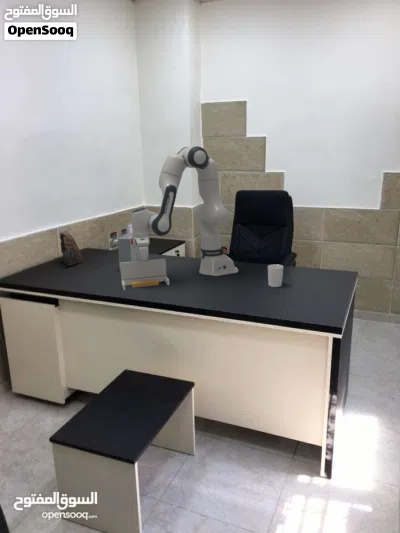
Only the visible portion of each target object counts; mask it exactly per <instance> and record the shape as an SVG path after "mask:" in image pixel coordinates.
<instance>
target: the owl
mask: <svg viewBox="0 0 400 533" xmlns="http://www.w3.org/2000/svg"><path fill="white" fill-rule="evenodd" d="M59 239H60V249H61V251H60V252H61V253H62V258H63V265H65V266H72V265H76V264H81V263H83V262H84V259H83V257H82V256H83V255H82V253H81V251H80V249H79V246H78V244H77V242H76V240H75V239H74V236H72V234H70V232H69V231H68V230H65V231H60V233H59Z"/></svg>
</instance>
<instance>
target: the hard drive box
mask: <svg viewBox="0 0 400 533" xmlns="http://www.w3.org/2000/svg"><path fill="white" fill-rule="evenodd" d="M135 245H136V244H134V243H133V237H132V233H127V234H125V235H123V236H121V237H119V238H117V247H118V250H117V251H118V263H119V272H121V267H120V263H122V262H133V261H141V260H140V257H139V255H138V253H137V247H136V246H135Z"/></svg>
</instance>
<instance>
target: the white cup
mask: <svg viewBox="0 0 400 533" xmlns="http://www.w3.org/2000/svg"><path fill="white" fill-rule="evenodd" d="M283 277H284V265H282V264H275V263H274V264H269V265H267V280H268V286H269V287H272V288H278V287H282V284H283Z"/></svg>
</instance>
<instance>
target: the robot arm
mask: <svg viewBox="0 0 400 533" xmlns="http://www.w3.org/2000/svg"><path fill="white" fill-rule="evenodd" d="M187 168H189V169H195V170H196V173H197V187H198V194H199V197H200V198H201V200H202V203H199V204H196V206H195V207H194V209H193V216H194V219H195V220H196V222H197V225H198V228H199V232H200V233H199V234H200V239H201V240H200V246H201V247H200V267H199V270H198V272H199V274H201V275H205V276H206V275H207V276H213V277H219V276H223V275H224V276H225V275H230V274H237V273H238V272H239V269H238V267H236V266H235V264H234V261H233V259H232V258H231V257H229V256H228V255H227V254H226V253H227V249H226V248H223V247H222V243H221V242H222V241H221V239H222V238H221V237H222V236H221V233H220V231H219V229H218V226H222V225H225V224H226V223H227V222H228V220H229V211H228V210H227V209H226V207H225V205H224V203H223V201H222V198H221V194H220V187H219V186H220V185H219V173H218V166H217V163H216V161H215V159H214V158H210V157H209V155H208V153H207V150H206V149H205V148H203V147H201V146H197V145H196V146H195V145H190V146H184V147H183V148H181V149H180V150H179V151H178V152H177V153H170V154H168V155H167V157H166V159H165V160H164V163H163V165H162V168H161V171H160V174H159V178H158V186H159V189H161V194H162V199H161V204H160V208H159V211H158V213H157V212H153V211H151V210H148V209H147V208H146V207H139V208H136V209H134V210H132V212H131V218H130V219H131V229H132V233H131V234H132V237H133V243H134V244H136V245H135V246H136V247H137V253H138V255H139V257H140V261H144V260H149V246H150V242H151V240H150V232H153V233H154V234H155V235H156V236H160V237H162V236H163V237H164V236H167V235H169V233H170V232H171V230H172V225H173V224H172V214H173V211H174V206H175V203H176V198H177V194H178V190H179V186H180V183H181V180H182V177H183V174H184V171H185V170H186V169H187Z"/></svg>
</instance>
